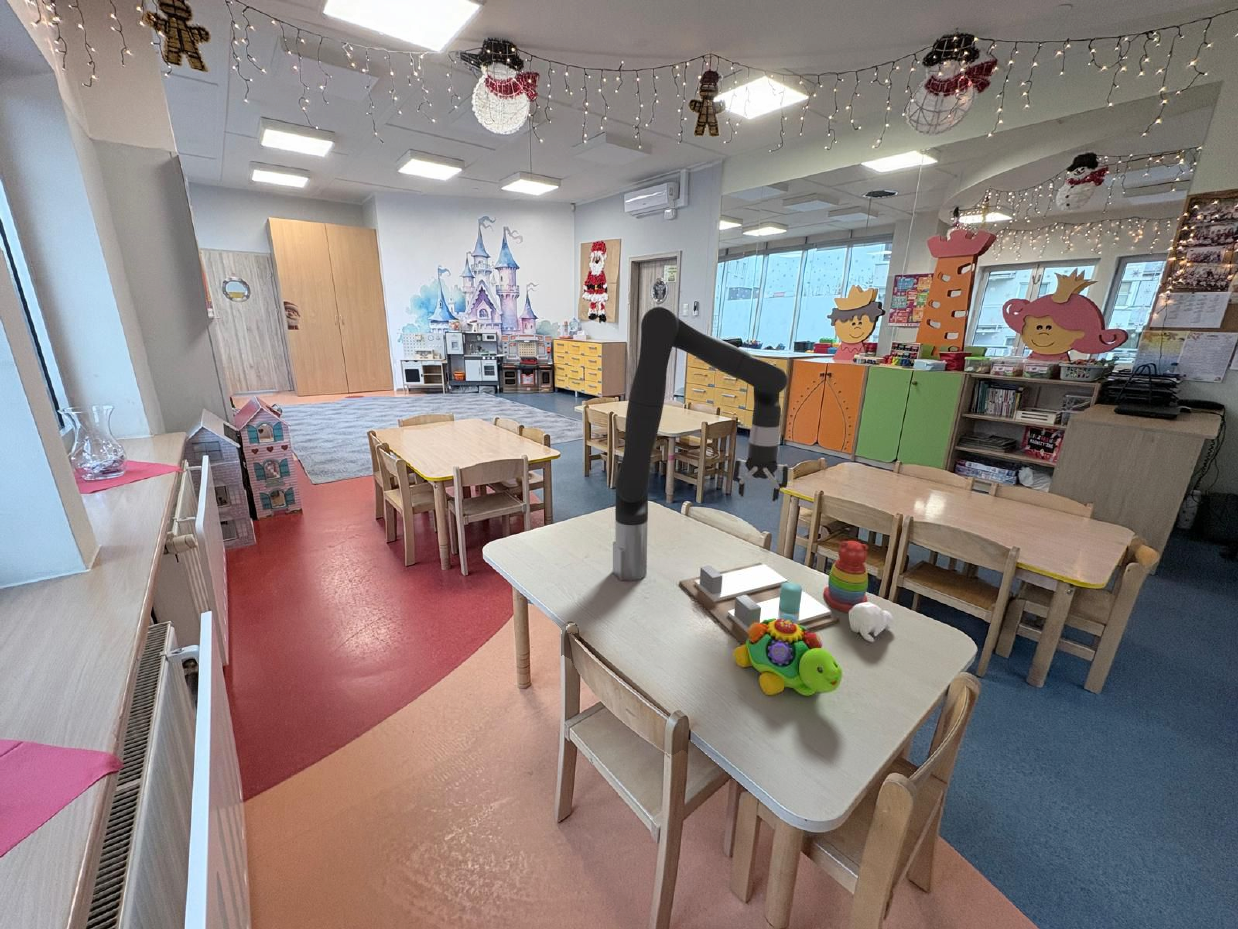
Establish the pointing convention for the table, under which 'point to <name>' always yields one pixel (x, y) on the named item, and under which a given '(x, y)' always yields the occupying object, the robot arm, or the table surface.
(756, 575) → the empty strip
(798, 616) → the strip
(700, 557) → the table surface
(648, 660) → the table surface
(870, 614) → the white toy rabbit
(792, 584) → the teal cylinder
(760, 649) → the turtle toy
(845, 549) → the stacking bear
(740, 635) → the lane board
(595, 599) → the table surface
